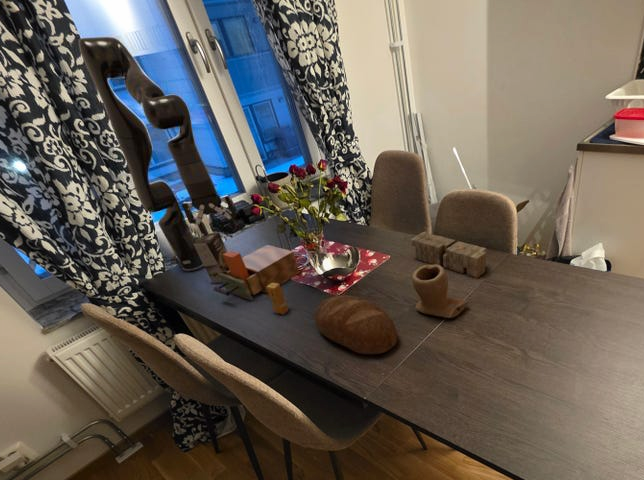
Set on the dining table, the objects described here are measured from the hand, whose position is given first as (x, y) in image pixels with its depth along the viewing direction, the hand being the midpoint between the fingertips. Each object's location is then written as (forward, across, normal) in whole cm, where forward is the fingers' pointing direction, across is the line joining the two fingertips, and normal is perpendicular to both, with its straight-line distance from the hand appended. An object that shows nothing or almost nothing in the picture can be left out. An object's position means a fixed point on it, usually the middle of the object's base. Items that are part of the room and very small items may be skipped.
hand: (220, 232), depth 123 cm
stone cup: (+24, -61, +34) cm, 74 cm away
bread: (+24, -35, +36) cm, 56 cm away
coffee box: (+24, +11, -19) cm, 33 cm away
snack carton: (+22, 0, -3) cm, 22 cm away
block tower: (+24, -74, +5) cm, 78 cm away
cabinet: (+24, -8, -10) cm, 27 cm away
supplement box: (+24, -13, +15) cm, 31 cm away
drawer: (+23, 0, -4) cm, 23 cm away
